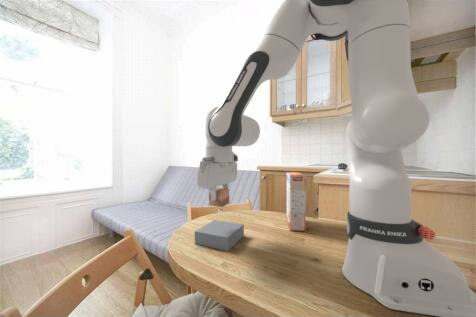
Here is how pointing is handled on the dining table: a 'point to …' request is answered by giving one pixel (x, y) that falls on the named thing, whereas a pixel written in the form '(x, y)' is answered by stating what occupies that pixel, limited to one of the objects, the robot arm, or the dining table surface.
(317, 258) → the dining table surface
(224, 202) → the cube
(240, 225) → the base
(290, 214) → the cracker box
